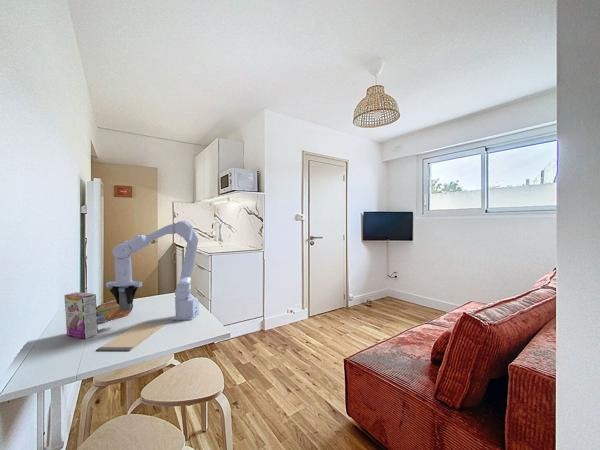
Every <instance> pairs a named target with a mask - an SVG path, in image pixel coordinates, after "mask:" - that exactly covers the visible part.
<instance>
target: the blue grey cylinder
mask: <svg viewBox="0 0 600 450" xmlns="http://www.w3.org/2000/svg"><path fill="white" fill-rule="evenodd" d="M126 288H128V287H119V288H118V289H119V307H120V311H126V310H129V309H131V304H128V303H127V295H126V292H125V290H124V289H126Z"/></svg>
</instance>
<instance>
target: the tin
mask: <svg viewBox="0 0 600 450" xmlns="http://www.w3.org/2000/svg"><path fill="white" fill-rule="evenodd" d="M96 307H97V323H100V324H105V322H106V323H108V321H109V322H111V320H112V321H115V320H118V319H121V318H123V317H127V316H128V315H129V314H131V312H132V310H133V309H134V302H133V303H131V309H129V310H126V311H120V307H119V304H117V302H116V299H114V300H111V301H110V300H109V301H107V302H103V303H100V304H98V305H96Z"/></svg>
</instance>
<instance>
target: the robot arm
mask: <svg viewBox="0 0 600 450" xmlns="http://www.w3.org/2000/svg"><path fill="white" fill-rule="evenodd" d="M175 234H177V235H178V236H179V237H181V238H182V239H183V240H184V241H185V243H186V248H185V252H184V253H185V254H184V257H183V262H182V269H181V274H180V277H179V280H178V281H179V282H178V283H177V284H176V289H175V290H174V295H175V297H174V302H175V303H174V304H175V306H174V307H175V309H174V310H175V316H173V317H172V318H171V320H172V321H178V320H179V321H181V320H184V321H188V320H189V321H190V320H194V319H195V318H196V317H197V316H198V315H199V314H200V308H199V306H200V305H199V304H200V303H199V302H200V301H199V299H198V297H196V296H193V294H192V293H191V289H192V283H191V280H192V275H193V269H194V264H195V261H196V260H195V259H196V255H197V249H198V244H199V238H198V235H197V233H196V231H195V229H194V227H193V226H192V224H190V222H189V221H187V220H180V221H178V222H175V223H170V224H168V225H165V226H163V227H161V228H159V229H157V230H155V231H153V232H151V233H149V234H147V235H145V234H136V235H135V236H134V238H131V239H128V240H124V241H123V243H121V244H120V243H119V244H117V245H115V246H114V247H113V249H112V250H111V251H112V255H113V257H114V272H115V273H114V275H115V281H108V282H106V283H105V288H110V289H109V292H110V293H111V294H112V295H113V297H114V300H116V302H117V304H119V289H118V288H119V287H128V288H126V289H124V290H125V292H126V295H127V303H128V304H131V303H133V304H134V298H135V295H136V292H137V290H138V289H139V288H141V287H143V281H137V280H133V273H132V269H133V268H132V259H131V258H132V254H134V253H137V252H139V251H141V250H144V249H145V248H147V247H149V246H150V243H151V242H153V241H155V240H157V239H160V238H161V237H164V236H166V235H175Z"/></svg>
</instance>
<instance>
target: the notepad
mask: <svg viewBox="0 0 600 450" xmlns="http://www.w3.org/2000/svg"><path fill="white" fill-rule="evenodd" d="M164 326H166V323H136V324H135V325H134V326H132V327H130V328H129V329H127V330H126V331H124V332H122V333H121V334H119V335H118V336H115V337H114V338H113V339H112V340H111V339H110V341H108V342H106V343H105V344H103V345H102V346H99V347H98V348H97V349H96V352H131V351H132V350H134V349H135V348H136V347H138V346H139V345H140V344H141V343H142V342H144V341H145V340H147V339H148V338H150V337H151V336H152V335H153V334H154V333H156V332H158V331H159V330H160V329H162V328H163V327H164Z"/></svg>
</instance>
